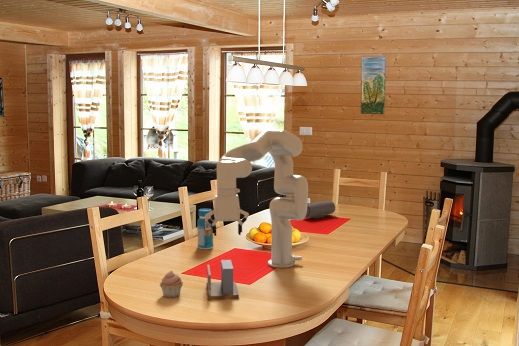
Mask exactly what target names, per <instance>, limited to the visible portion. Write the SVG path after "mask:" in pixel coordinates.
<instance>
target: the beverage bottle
mask: <svg viewBox="0 0 519 346" xmlns="http://www.w3.org/2000/svg"><path fill="white" fill-rule="evenodd" d="M211 211H213V209H211V208H200V209H198V216H199V218H198V219H197V222H196V223H197V224H196V225H197V226H196V230H197V248H198V249H200V250H210V249H213V248H214V233H212V225H211V224H210V223H209V222H208V220H207V219H206V217H205V214H207V213H209V212H211ZM212 216H213V215H211V216H209V217H210V219H211V220H212V221H213V220H214V219H213V218H212Z"/></svg>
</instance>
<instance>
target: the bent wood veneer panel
mask: <svg viewBox="0 0 519 346" xmlns="http://www.w3.org/2000/svg"><path fill="white" fill-rule="evenodd" d="M206 266H207V267H206V269H207V270H206V271H207V273H206V274H207V281H206V285H205V286H206V295H207V300H208V301H212V300H214V301H215V300H235V299H236V300H237V299H240V294H239V290H238V287H237V283H236V281H233V293H228V294H223V290H222V285H221V281H220V282H219V281H217V282H212V277H211V274H212V273H211V269H210V268H211V267H210V264H207V265H206Z"/></svg>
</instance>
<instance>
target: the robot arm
mask: <svg viewBox="0 0 519 346" xmlns="http://www.w3.org/2000/svg"><path fill="white" fill-rule="evenodd" d="M303 147H304V146H303V142H302V140H301V138H299V136H297V135H295V134H293V133H292V132H290V131H289V130H285V129H280V128H279V129H275V128H265V129H262V130H261V131H260V132H259V133H258V134H257V135H255V136H254V138H252V139H251V140H250V141H249V142H247V143H245V144H243V145H239V146H236V147H233V148H232V149H229V150H228V151H227V152H226V153H224V154H223V155H222V156H221V157H220V159H219V160H218V162H217V163H216V193H217V194H216V195H215V196H214V203H213V205H214V206H213V209H212V211H211V212H209V213H207V214H205V217H206V219H207V220H208V222H209V223H210V224H211V225H212V233H213V237H216V236H217V225H216V224H217V223H218V222H235V221H236V222H237V223H238V224H237V234H238V235H239V236H241V233H243V224H244V223H245V222H246V221H248V220H247V219H248V218H249V216H250V214H249V212H247V211H244V210H243V209H241V207H240V198H239V195H238V193H240V192H241V190H240V188H237V178H239V179H240V178H242V179H243V178H246V177H248V176H250V174H251V173H252V170H253V165H252V162H255V161H259V160H261V159H262V158H264V157H265V156H266V154H268V153H269V154H270V155H271V158H272V160H273V162H274V179H273V180H274V181H273V189H274V192H275V193H276V194H279V195H283V196H291V197H294V198H290V197H282V196H281V197H280V196H278V197H274V198H273V199H271V201H270V202H269V214H270V220H271V241H270V242H271V245H270V246H271V247H270V249H271V255H270V257H271V258H270V259H269V260H268V261H267V265H268V266H270V267H272V268H276V269H277V268H278V269H280V268H281V269H285V268H291V267H294V266H296V265H295V264H296V261H302V260H303V258H302V256H299V255H293V225H292V223H291V221H290V220H292V221H303V220H304V219H305V218H306V217H305V216H306V213H307V204H308V196H309V183H308V180H307V178H306V177H305V176H304V175H300V174H299V175H298V174H294V162H293V159H292V157H297V156H299V155H301V153H302V151H303ZM241 214H242V215H244V216H243V217H242V219H241ZM211 215H212V216H213V217H214V219H212V220H213V221H212V220H211V219H210V217H212V216H211ZM209 216H210V217H209Z"/></svg>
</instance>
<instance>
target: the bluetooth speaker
mask: <svg viewBox="0 0 519 346" xmlns="http://www.w3.org/2000/svg"><path fill="white" fill-rule="evenodd" d="M335 211H336V205H335V203H334V201H332V200H323V201H317V202H311V203H307V213H306V216H305V218H306V219H315V220H316V219H320V218H321V219H322V218H326V216H328V215H331V214H333V213H335Z"/></svg>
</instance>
